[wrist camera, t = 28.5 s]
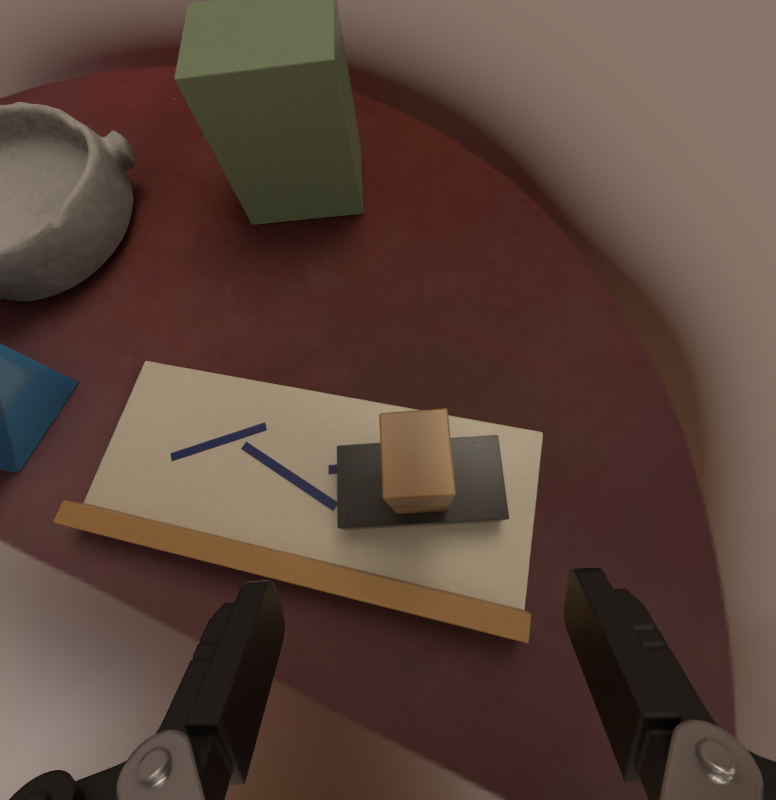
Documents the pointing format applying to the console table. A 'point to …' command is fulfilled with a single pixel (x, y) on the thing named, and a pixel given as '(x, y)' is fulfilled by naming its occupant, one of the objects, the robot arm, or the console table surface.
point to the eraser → (419, 476)
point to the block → (275, 104)
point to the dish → (58, 200)
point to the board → (301, 498)
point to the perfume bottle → (27, 405)
